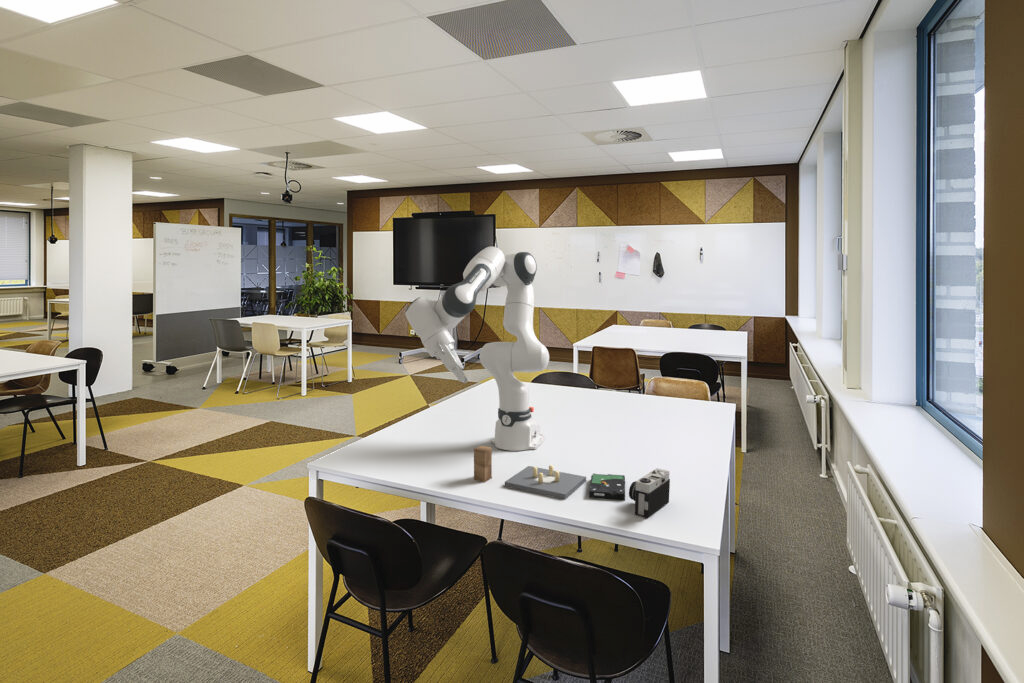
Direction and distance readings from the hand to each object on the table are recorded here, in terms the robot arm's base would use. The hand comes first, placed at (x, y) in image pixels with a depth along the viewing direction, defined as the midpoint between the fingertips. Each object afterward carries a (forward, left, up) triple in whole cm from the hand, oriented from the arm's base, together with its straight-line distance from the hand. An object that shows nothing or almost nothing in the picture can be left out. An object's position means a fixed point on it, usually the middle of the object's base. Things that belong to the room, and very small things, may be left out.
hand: (464, 381), depth 172 cm
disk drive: (-13, +42, -32) cm, 54 cm away
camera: (-6, +56, -31) cm, 64 cm away
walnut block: (-2, +5, -31) cm, 31 cm away
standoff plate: (-8, +24, -31) cm, 40 cm away
